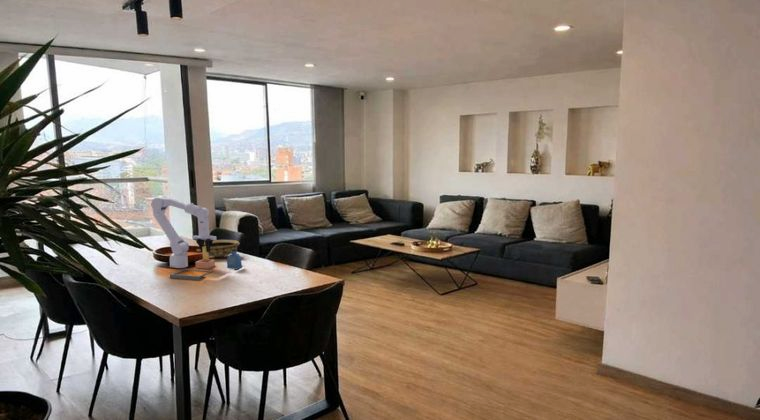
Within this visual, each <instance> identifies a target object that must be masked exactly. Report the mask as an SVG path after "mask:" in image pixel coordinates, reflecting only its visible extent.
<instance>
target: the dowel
mask: <svg viewBox="0 0 760 420" xmlns="http://www.w3.org/2000/svg"><path fill="white" fill-rule="evenodd" d="M201 253H202V259H203V260H208V259H210V256H209V255H208V252H207V251H206V246H203V247H202V252H201Z"/></svg>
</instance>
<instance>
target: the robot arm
mask: <svg viewBox="0 0 760 420" xmlns="http://www.w3.org/2000/svg"><path fill="white" fill-rule="evenodd" d="M150 206H151V208H152V215H153V217H154V219H155V220H156V221H157V223H158V225H159V226H160V228H161V229H162V231H163V232H164V234H165V235H166V237H167V239H168V240H169V242H170V243H169V246H170V248H171V252H172V254H171V255H170V256H169V268H175V269H186V268H187V267H189V260H188V251H189V247H190V245H189V243H188V242H187V241H185V240H184V238H182V237H180V236H179V235H178V233H177V231H176V230H175V228H174V227H173V225H172V223H171V222H170V220H169V219H168V217H167V216H166V210H167V209H168V207H175V208H178V209H181V210H184V212H185V213H187V214H189V215H192V216H195V217H196V218H197V224H198V235H193V236H192V240H195V241H196V244H197V246H198V247H199V248H198V249H200V250H201V251H200V253H203V252H202V247H203V246H204V242H205V244H206V251H207V252H210V247H211V244H212V242H213V240H218V239H217V236H216V235H215V236H214V235H210V224H209V223H210V222H209V216H210V213H211V212H210V209H208V208H207V207H205V206H204V207H202V206H201V205H196V204H194V203H193V202H191V203H190V202H189V203H184V202H183V201H179V200H176V199H174V198H172V197H168V196H163V195H162V196H160V197H154V198H153V199H152V201H151V204H150Z"/></svg>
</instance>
